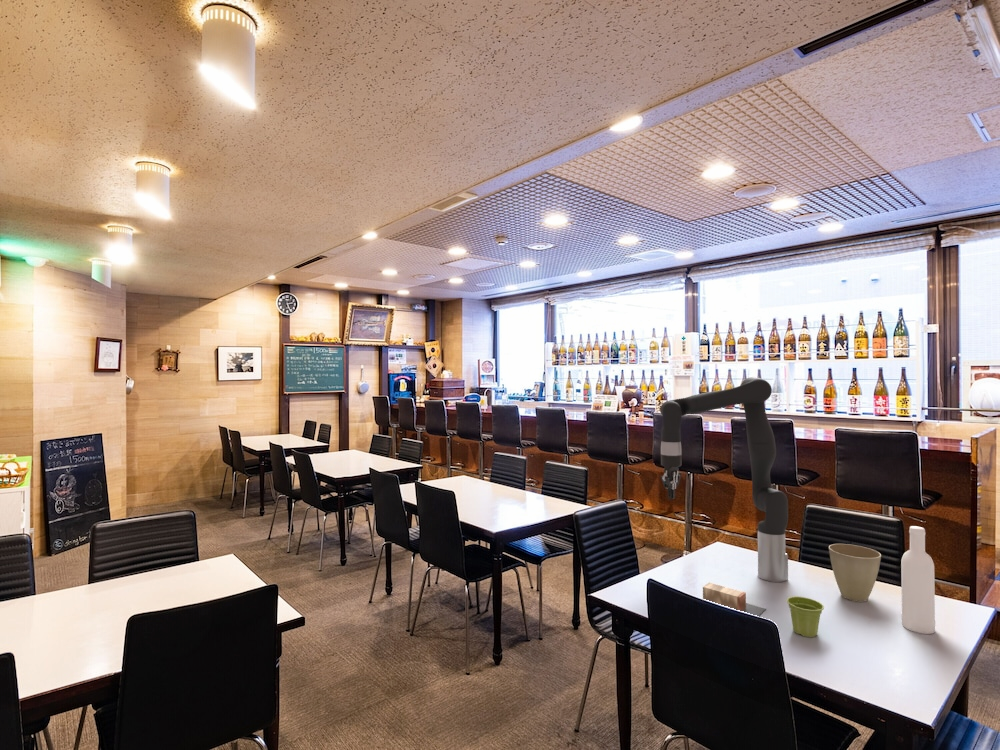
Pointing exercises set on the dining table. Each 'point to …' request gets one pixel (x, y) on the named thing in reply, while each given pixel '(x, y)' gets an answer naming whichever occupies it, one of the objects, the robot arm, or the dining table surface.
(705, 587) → the oak block
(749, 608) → the slate mat
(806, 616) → the plant pot
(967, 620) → the dining table surface
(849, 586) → the plant pot
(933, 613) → the bottle
